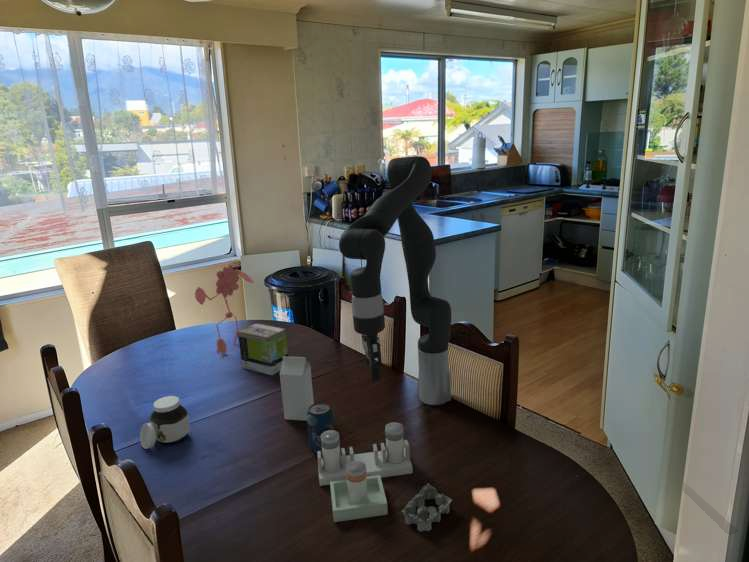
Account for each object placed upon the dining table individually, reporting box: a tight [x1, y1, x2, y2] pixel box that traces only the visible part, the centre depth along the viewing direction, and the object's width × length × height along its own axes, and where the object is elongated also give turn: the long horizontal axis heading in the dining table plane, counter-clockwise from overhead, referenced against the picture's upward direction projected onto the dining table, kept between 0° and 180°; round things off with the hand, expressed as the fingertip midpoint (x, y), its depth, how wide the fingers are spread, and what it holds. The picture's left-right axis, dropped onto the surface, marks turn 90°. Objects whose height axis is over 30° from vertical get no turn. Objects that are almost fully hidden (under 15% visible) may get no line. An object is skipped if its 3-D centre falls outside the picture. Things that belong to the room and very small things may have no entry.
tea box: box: [237, 322, 289, 376], centre depth 193 cm, size 15×10×15 cm, turn 58°
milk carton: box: [279, 356, 315, 422], centre depth 158 cm, size 7×7×19 cm
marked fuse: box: [346, 461, 368, 506], centre depth 120 cm, size 5×5×9 cm
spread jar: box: [139, 395, 191, 450], centre depth 149 cm, size 12×11×12 cm
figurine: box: [194, 263, 254, 359], centre depth 205 cm, size 15×26×35 cm, turn 148°
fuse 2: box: [384, 421, 405, 464], centre depth 133 cm, size 5×5×9 cm
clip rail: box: [316, 439, 414, 487], centre depth 133 cm, size 23×8×6 cm, turn 98°
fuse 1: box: [321, 429, 342, 473], centre depth 131 cm, size 5×5×9 cm
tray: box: [329, 475, 389, 523], centre depth 121 cm, size 12×10×3 cm
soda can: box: [306, 402, 335, 455], centre depth 142 cm, size 7×7×12 cm
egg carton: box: [400, 482, 453, 533], centre depth 117 cm, size 11×8×4 cm
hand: (373, 371), depth 131 cm, fingers open, 8 cm apart
